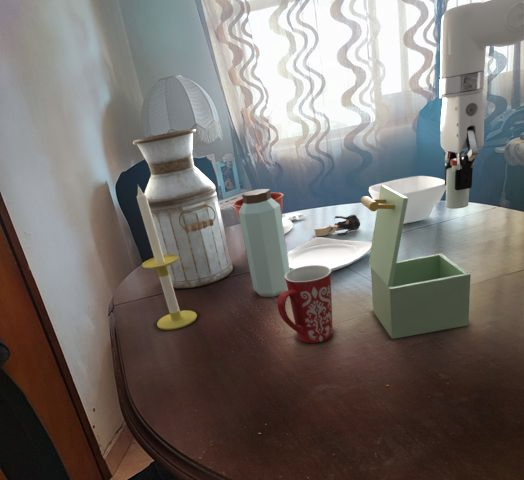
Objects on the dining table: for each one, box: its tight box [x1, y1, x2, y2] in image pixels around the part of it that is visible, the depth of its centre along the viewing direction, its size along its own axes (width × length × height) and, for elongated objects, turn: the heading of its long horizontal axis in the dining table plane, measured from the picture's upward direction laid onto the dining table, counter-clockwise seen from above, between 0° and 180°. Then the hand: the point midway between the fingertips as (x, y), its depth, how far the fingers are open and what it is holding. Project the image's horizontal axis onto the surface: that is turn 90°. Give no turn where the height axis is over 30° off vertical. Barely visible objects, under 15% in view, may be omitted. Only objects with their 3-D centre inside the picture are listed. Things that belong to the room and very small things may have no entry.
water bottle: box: [238, 188, 290, 298], centre depth 114 cm, size 10×10×25 cm
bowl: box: [368, 175, 446, 225], centre depth 151 cm, size 22×22×12 cm
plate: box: [287, 236, 372, 273], centre depth 133 cm, size 24×24×3 cm
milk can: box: [132, 128, 234, 289], centre depth 132 cm, size 24×21×40 cm
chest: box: [370, 253, 472, 340], centre depth 91 cm, size 15×13×10 cm
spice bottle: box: [445, 156, 470, 210], centre depth 95 cm, size 4×4×9 cm
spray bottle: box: [282, 213, 305, 235], centre depth 173 cm, size 3×11×24 cm
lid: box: [360, 185, 408, 287], centre depth 85 cm, size 15×13×5 cm
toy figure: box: [313, 214, 361, 237], centre depth 153 cm, size 7×6×15 cm
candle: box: [136, 184, 198, 331], centre depth 106 cm, size 10×10×32 cm
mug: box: [277, 265, 334, 344], centre depth 91 cm, size 13×9×14 cm
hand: (457, 185), depth 95 cm, fingers closed on spice bottle, 4 cm apart
